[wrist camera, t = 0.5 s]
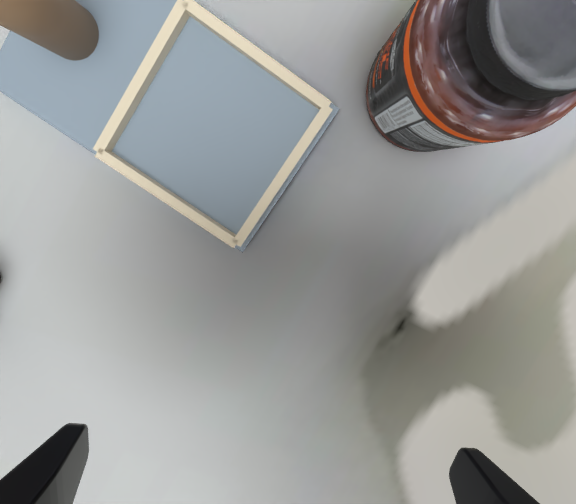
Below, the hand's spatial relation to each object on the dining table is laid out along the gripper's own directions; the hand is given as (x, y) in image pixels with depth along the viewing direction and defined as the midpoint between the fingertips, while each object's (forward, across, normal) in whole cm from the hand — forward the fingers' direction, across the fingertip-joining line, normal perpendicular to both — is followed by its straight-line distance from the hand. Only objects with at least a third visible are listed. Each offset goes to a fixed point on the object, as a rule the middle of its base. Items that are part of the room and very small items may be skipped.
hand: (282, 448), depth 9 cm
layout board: (+15, +6, -6) cm, 18 cm away
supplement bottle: (+15, -7, -8) cm, 18 cm away
